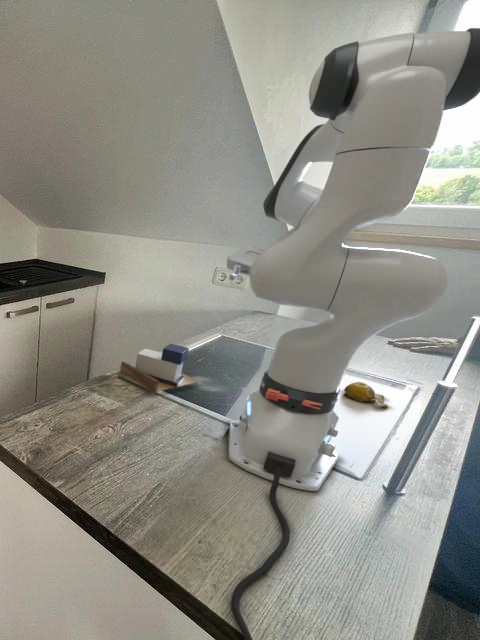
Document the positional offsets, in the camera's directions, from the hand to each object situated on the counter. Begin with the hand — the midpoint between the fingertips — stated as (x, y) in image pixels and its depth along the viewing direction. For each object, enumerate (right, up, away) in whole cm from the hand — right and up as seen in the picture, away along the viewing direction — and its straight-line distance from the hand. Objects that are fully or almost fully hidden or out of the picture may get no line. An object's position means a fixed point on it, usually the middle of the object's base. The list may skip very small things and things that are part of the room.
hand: (248, 284), depth 100 cm
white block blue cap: (-22, -24, +5) cm, 33 cm away
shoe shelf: (-21, -25, +5) cm, 34 cm away
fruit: (+27, -30, -4) cm, 41 cm away
